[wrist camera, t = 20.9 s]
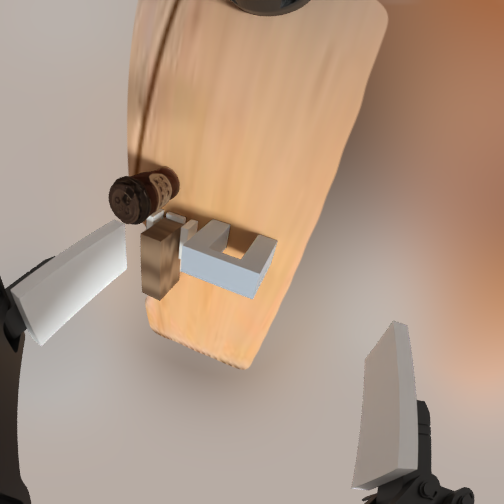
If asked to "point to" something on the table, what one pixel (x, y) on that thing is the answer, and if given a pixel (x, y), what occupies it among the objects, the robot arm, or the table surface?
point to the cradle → (186, 229)
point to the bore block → (226, 259)
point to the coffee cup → (142, 194)
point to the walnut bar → (160, 257)
